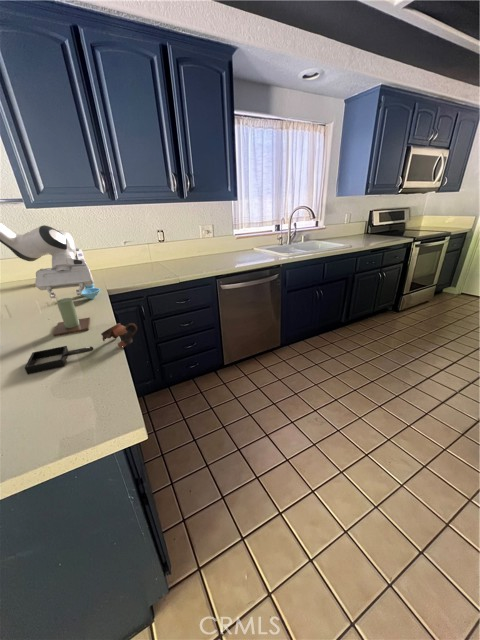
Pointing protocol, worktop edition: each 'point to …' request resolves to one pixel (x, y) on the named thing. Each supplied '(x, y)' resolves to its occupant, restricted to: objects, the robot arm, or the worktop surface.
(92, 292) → the blue conch shell
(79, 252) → the milk carton
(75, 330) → the board
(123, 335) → the brown irregular piece
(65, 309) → the pale green cylinder
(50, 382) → the worktop surface
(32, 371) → the pan
